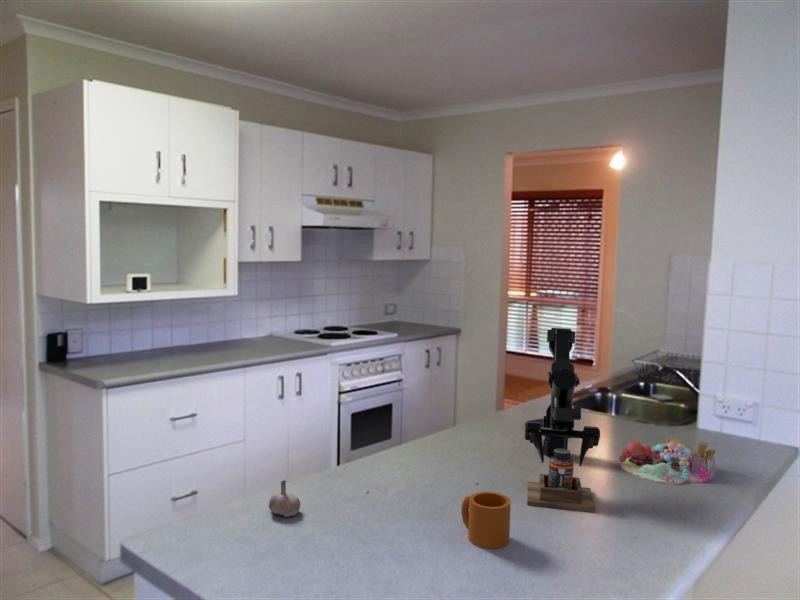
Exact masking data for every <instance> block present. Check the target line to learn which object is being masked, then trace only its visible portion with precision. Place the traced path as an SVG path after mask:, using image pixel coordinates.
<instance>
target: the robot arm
mask: <svg viewBox="0 0 800 600" xmlns="http://www.w3.org/2000/svg"><path fill="white" fill-rule="evenodd" d="M546 342H547V343H548V350H549V352H550V353H551V356H552V358H553V359H552V360H553V361H552V363H551V365H550V371H548V373H547V385H548V386H550V389H551V393H550V404H549V405H548V407H547V409H546V411H545V415H543V418H542V419H543V428H541V422H531V421H530V420H527V421H528V422H527V421H525V423H526V424H525V423H524V440H526V441H529V443H530V444H533V445H534V448H535V449H536V452H537V453H538V455H539V459H540V462H541V463H542V464H544V463H545V462H544V461H545V459H544V458H545V456H547V457H548V458H551V457H553V456H554V449H557V448H562V449H567V450H568V446H569V445H568V444H569V443H568V442H569V439H581V446H580V452H579V459H578V460H579V461H578V466H579V467H582V464H583V461H584V459H585V456H586V455H587V453H588V451H589V449H593V448H594V447H597V446H599V443H600V439H601V429H600V428H599V427H597V426H588V425H584V426H583V429H582V430H575V421H580V420H581V419H582V407H581V406H573V405H574V403H573V402H574V395H575V388H577V387H578V386H579V385H580V382H581V381H580V378H579V377H578V374H577V373H576V372H575V366H574V364H572V362H571V361H570V356H571V355H570V353H571V351H572V349H573V345H574V344H575V343H576V331H575V330H572V329H571V328H564V327H551V329H547V333H546ZM543 437H544V438H543Z"/></svg>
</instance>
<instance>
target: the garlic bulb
mask: <svg viewBox="0 0 800 600" xmlns="http://www.w3.org/2000/svg"><path fill="white" fill-rule="evenodd" d="M286 481H287V480H286V479H282V480H281V481H280V492H279V493H276V494H274V495H272V496H271V497H270V499H269V501H268V509H269V510H270V512H271V513H274V514H276V515H280V516H283V517H286V518H289V517H292V516H296V515H297V514H298V513H299V511H300V508H301V501H300V499H299V497H297V496H295V495H294V494H291V493H288V492H287V491H286V490H287V486H286V484H287V482H286Z"/></svg>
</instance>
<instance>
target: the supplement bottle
mask: <svg viewBox="0 0 800 600" xmlns="http://www.w3.org/2000/svg"><path fill="white" fill-rule="evenodd" d="M549 458H550V457H549ZM548 463H549V465H548V475H549V477H548V488H558V489H568V490H572V480H573V477H574V476H573V475H574V460H573V459H572V458H571V451H570V450H569V449H568V448H567V449H562V448H557V449H554V456H553V457H551V458H550V459H549V462H548Z"/></svg>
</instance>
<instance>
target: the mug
mask: <svg viewBox="0 0 800 600" xmlns="http://www.w3.org/2000/svg"><path fill="white" fill-rule="evenodd" d="M462 500H463V501H462V504H461V513H460V514H461V518H462V521H463V524H464V526H465V528H466V529H467V530H468V533H467V535H468V536H467V538H468V540H469V542H470V543H471V544H472V545H474V546H476V547H479V548H481V549H487V550H494V549H495V550H496V549H498V550H499V549H501V548H502V549H503V548H505V547H507V545H509V543H510V530H511V529H510V528H511V525H510V524H511V505H512V504H511V503H512V502H511V499H510V498H509V497H508V496H507V495H505V494H502V493H501V492H500V493H499V492H495V491H479V492H478V491H477V492H475V493H472V494H467V495H466V496H465V497H464V498H463V499H462Z"/></svg>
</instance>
